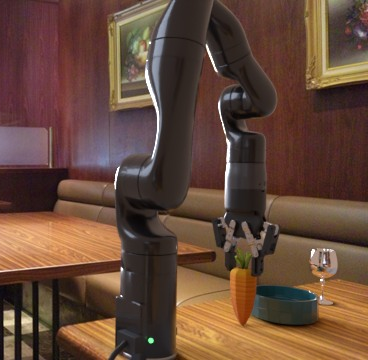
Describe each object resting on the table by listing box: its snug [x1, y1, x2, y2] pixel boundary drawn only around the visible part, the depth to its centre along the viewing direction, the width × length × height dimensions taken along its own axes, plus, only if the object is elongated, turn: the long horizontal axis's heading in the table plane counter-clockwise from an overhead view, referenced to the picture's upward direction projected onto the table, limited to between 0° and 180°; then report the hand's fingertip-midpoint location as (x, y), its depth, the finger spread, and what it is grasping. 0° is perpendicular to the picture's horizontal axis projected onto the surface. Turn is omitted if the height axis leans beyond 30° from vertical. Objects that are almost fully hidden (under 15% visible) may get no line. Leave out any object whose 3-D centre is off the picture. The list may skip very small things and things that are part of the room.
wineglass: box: [308, 247, 339, 306], centre depth 113 cm, size 6×6×12 cm
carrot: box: [229, 247, 258, 326], centre depth 97 cm, size 5×5×15 cm
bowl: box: [250, 284, 320, 326], centre depth 103 cm, size 13×13×5 cm
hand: (243, 272), depth 96 cm, fingers closed on carrot, 5 cm apart
